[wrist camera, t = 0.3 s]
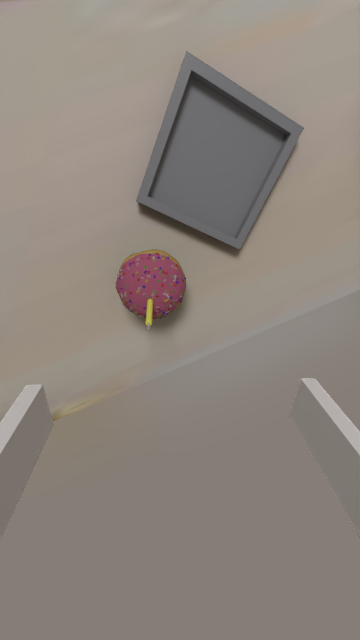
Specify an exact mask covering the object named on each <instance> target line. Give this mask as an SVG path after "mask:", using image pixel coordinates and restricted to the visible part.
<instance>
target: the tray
mask: <svg viewBox="0 0 360 640" xmlns="http://www.w3.org/2000/svg"><path fill="white" fill-rule="evenodd" d="M303 129H304V128H303V127H302V126H300V125H299V124H297V123H296V122H294V121H293V120H291V119H290V118H288V117H287V116H285V115H284V114H282V113H280V112H279V111H277V110H276V109H274V108H273V107H271V106H270V105H268V104H267V103H265V102H264V101H262V100H261V99H259V98H258V97H256V96H255V95H253V94H251V93H250V92H248V91H247V90H245V89H244V88H242V87H241V86H239V85H238V84H236V83H235V82H233V81H232V80H230V79H229V78H227V77H226V76H224V75H222V74H221V73H219V72H218V71H216V70H215V69H213V68H212V67H210V66H209V65H207V64H206V63H204V62H203V61H201V60H200V59H198V58H196V57H195V56H193V55H192V54H190V53H189V52H187V51H186V54H185V57H184V60H183V63H182V66H181V69H180V72H179V75H178V78H177V81H176V84H175V87H174V90H173V93H172V96H171V99H170V102H169V105H168V108H167V111H166V114H165V117H164V120H163V123H162V126H161V129H160V132H159V135H158V138H157V141H156V144H155V147H154V150H153V153H152V155H151V158H150V161H149V164H148V167H147V170H146V173H145V176H144V179H143V182H142V185H141V188H140V191H139V194H138V197H137V200H136V201H137V202H139V203H141V204H144V205H146V206H148V207H150V208H152V209H154V210H156V211H158V212H161V213H163V214H165V215H167V216H169V217H171V218H173V219H176V220H178V221H180V222H182V223H184V224H186V225H188V226H190V227H193V228H195V229H197V230H199V231H201V232H203V233H205V234H207V235H210V236H212V237H214V238H216V239H218V240H220V241H222V242H225V243H227V244H229V245H231V246H233V247H235V248H237V249H239V250H240V248H241V246H242V244H243V242H244V241H245V239H246V237H247V235H248V233H249V231H250V229H251V227H252V225H253V223H254V222H255V220H256V218H257V216H258V214H259V212H260V210H261V208H262V206H263V205H264V203H265V201H266V199H267V197H268V195H269V193H270V191H271V189H272V188H273V186H274V184H275V182H276V180H277V178H278V176H279V174H280V172H281V171H282V169H283V167H284V165H285V163H286V161H287V159H288V157H289V155H290V153H291V152H292V150H293V148H294V146H295V144H296V142H297V140H298V138H299V136H300V135H301V133H302V131H303Z"/></svg>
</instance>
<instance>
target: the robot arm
mask: <svg viewBox="0 0 360 640" xmlns="http://www.w3.org/2000/svg"><path fill="white" fill-rule="evenodd" d="M289 417H290V419H291V420H292V422H293V424H294V426H295V427H296V429H297V431H298V432H299V434H300V436H301V438H302V439H303V441H304V442H305V444H306V446H307V448H308V450H309V451H310V453H311V454H312V456H313V458H314V460H315V462H316V463H317V465H318V467H319V468H320V470H321V472H322V474H323V475H324V477H325V479H326V480H327V482H328V484H329V486H330V487H331V489H332V490H333V492H334V494H335V496H336V497H337V499H338V501H339V503H340V504H341V506H342V508H343V509H344V511H345V513H346V514H347V516H348V518H349V520H350V521H351V523H352V525H353V526H354V528H355V530H356V531H357V533H358V535H359V537H360V431H359V430H358V429H357V428H356V427H355V426H354V424H353V423H352V422H351V421H350V420H349V418H347V416H346V415H345V414H344V413H343V412H342V410H341V409H340V408H339V407H338V405H337V404H336V403H335V402H334V401H333V399H331V397H330V396H329V395H328V394H327V392H326V391H325V390H324V389H323V388H322V387H321V385H320V384H319V383H318V382H317V381H316V379H315V378H301V379H300V383H299V386H298V389H297V392H296V395H295V399H294V402H293V405H292V408H291V411H290V415H289ZM52 427H53V421H52V417H51V414H50V410H49V406H48V402H47V399H46V395H45V391H44V388H43V385H26V386H25V388H24V389H23V390H22V392H21V393H20V395H19V396H18V398H17V399H16V400H15V402H14V403H13V405H12V406H11V408H10V409H9V411H8V412H7V413H6V415H5V416H4V418H3V419H2V421H1V422H0V540H1V538H2V536H3V534H4V532H5V529H6V527H7V525H8V523H9V521H10V518H11V516H12V514H13V512H14V510H15V508H16V505H17V503H18V501H19V499H20V497H21V494H22V492H23V490H24V488H25V486H26V484H27V481H28V479H29V477H30V475H31V473H32V471H33V468H34V466H35V464H36V462H37V460H38V458H39V455H40V453H41V451H42V449H43V447H44V444H45V442H46V440H47V438H48V436H49V433H50V431H51V429H52Z"/></svg>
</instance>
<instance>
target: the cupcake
mask: <svg viewBox="0 0 360 640" xmlns="http://www.w3.org/2000/svg"><path fill="white" fill-rule="evenodd" d="M117 275H118V277H117V281H116V289H117V292H118V294H119V296H120V298H121V301H122V303H123V305H125V307H126V308H128V309H129V310H130V311H131V312H133V313H135V314H137V315H138V316H140V317H146V325H147V326H148V330H149V329H150V326H151V325H152V319H153V318H154V319H155V318H156V319H157V318H159V319H161V318H162V317H165V316H166V315H169V314H170V313H171V312H172V311H173V310H174V309H175V308H177V306H178V304H179V303H180V302H181V301H182V298H183V295H184V292H185V288H186V281H185V279H186V278H185V275H184V273H183V270H182V268H181V266H180V264H179V263H178V261H177V260H176V259H175V258H173V257H172V256H171V255H169V254H168V253H166V252H164V251H162V250H146V251H142V252H139V253H135V254H132V255H130V256H129V257H128V258H126V259H125V260H124V262H123V263H122V265H121V267H120V270H119V273H118V274H117Z"/></svg>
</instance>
